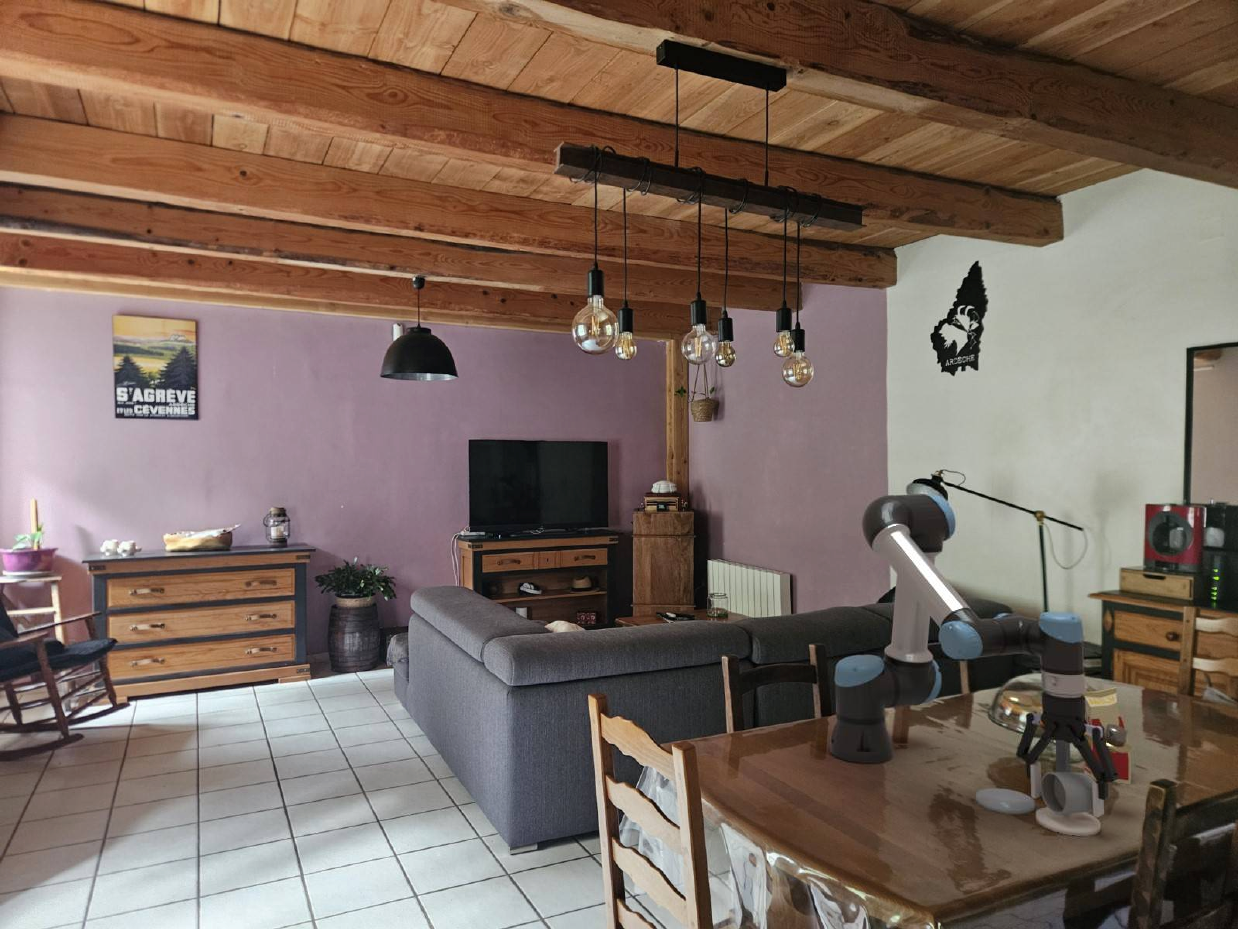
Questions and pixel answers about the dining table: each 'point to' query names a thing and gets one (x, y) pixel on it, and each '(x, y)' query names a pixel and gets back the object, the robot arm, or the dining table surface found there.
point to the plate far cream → (1068, 822)
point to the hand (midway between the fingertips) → (1066, 805)
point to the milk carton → (1101, 714)
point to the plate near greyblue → (1005, 801)
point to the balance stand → (1062, 757)
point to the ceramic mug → (1067, 792)
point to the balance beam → (1112, 733)
